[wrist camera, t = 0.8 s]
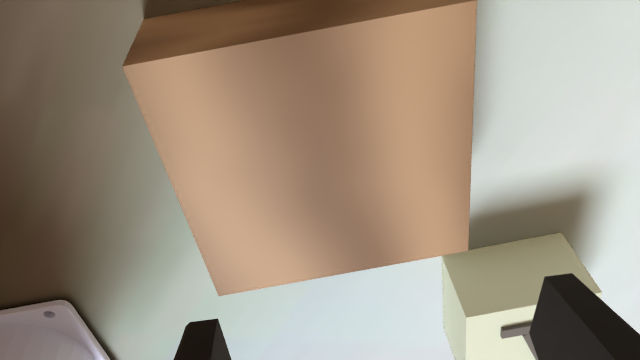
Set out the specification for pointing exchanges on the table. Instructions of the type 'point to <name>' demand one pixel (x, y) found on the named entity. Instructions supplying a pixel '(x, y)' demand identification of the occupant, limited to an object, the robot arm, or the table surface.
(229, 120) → the plain walnut block
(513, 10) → the table surface
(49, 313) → the robot arm
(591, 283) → the numbered block seven
